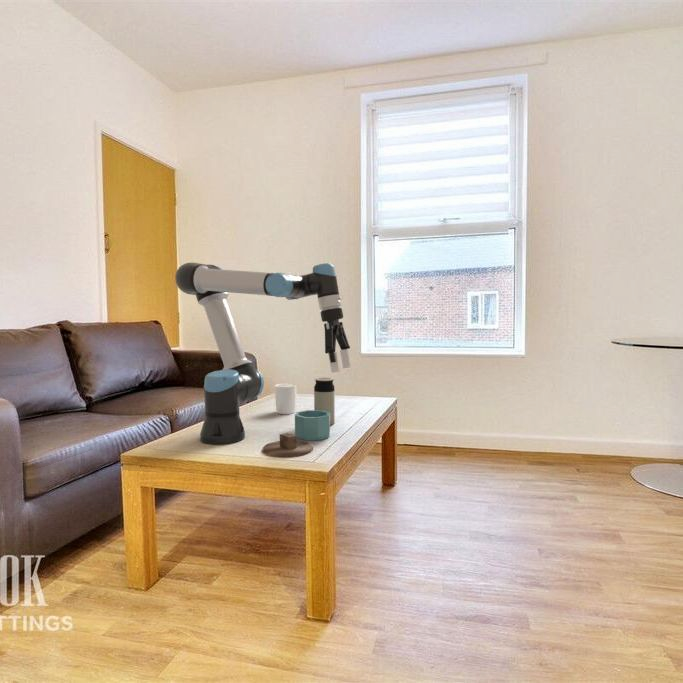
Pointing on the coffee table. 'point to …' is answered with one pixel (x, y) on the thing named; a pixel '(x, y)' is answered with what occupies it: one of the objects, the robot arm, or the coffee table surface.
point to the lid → (288, 447)
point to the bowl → (312, 425)
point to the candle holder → (285, 398)
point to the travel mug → (325, 396)
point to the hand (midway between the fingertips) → (341, 369)
